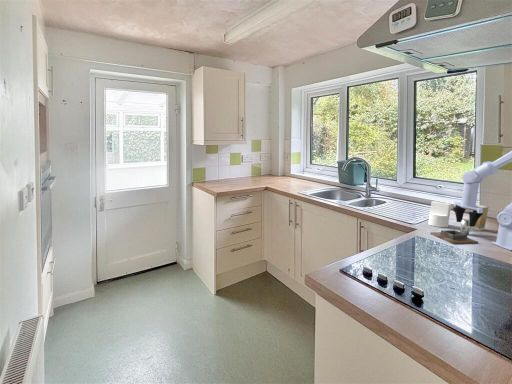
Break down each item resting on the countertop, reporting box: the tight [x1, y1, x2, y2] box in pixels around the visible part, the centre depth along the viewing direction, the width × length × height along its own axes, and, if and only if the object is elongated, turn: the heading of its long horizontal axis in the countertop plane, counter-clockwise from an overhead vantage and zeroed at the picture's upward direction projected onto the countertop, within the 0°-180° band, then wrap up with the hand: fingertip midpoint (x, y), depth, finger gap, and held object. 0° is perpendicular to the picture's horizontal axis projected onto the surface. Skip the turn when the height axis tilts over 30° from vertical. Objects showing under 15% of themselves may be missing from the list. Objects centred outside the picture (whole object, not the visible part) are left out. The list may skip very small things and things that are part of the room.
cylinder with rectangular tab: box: [428, 200, 452, 228], centre depth 159 cm, size 9×9×12 cm
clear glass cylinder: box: [459, 218, 471, 236], centre depth 145 cm, size 4×4×7 cm
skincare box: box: [467, 204, 489, 232], centre depth 153 cm, size 6×4×12 cm
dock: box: [430, 229, 479, 245], centre depth 138 cm, size 14×12×3 cm
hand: (465, 224), depth 145 cm, fingers open, 7 cm apart
